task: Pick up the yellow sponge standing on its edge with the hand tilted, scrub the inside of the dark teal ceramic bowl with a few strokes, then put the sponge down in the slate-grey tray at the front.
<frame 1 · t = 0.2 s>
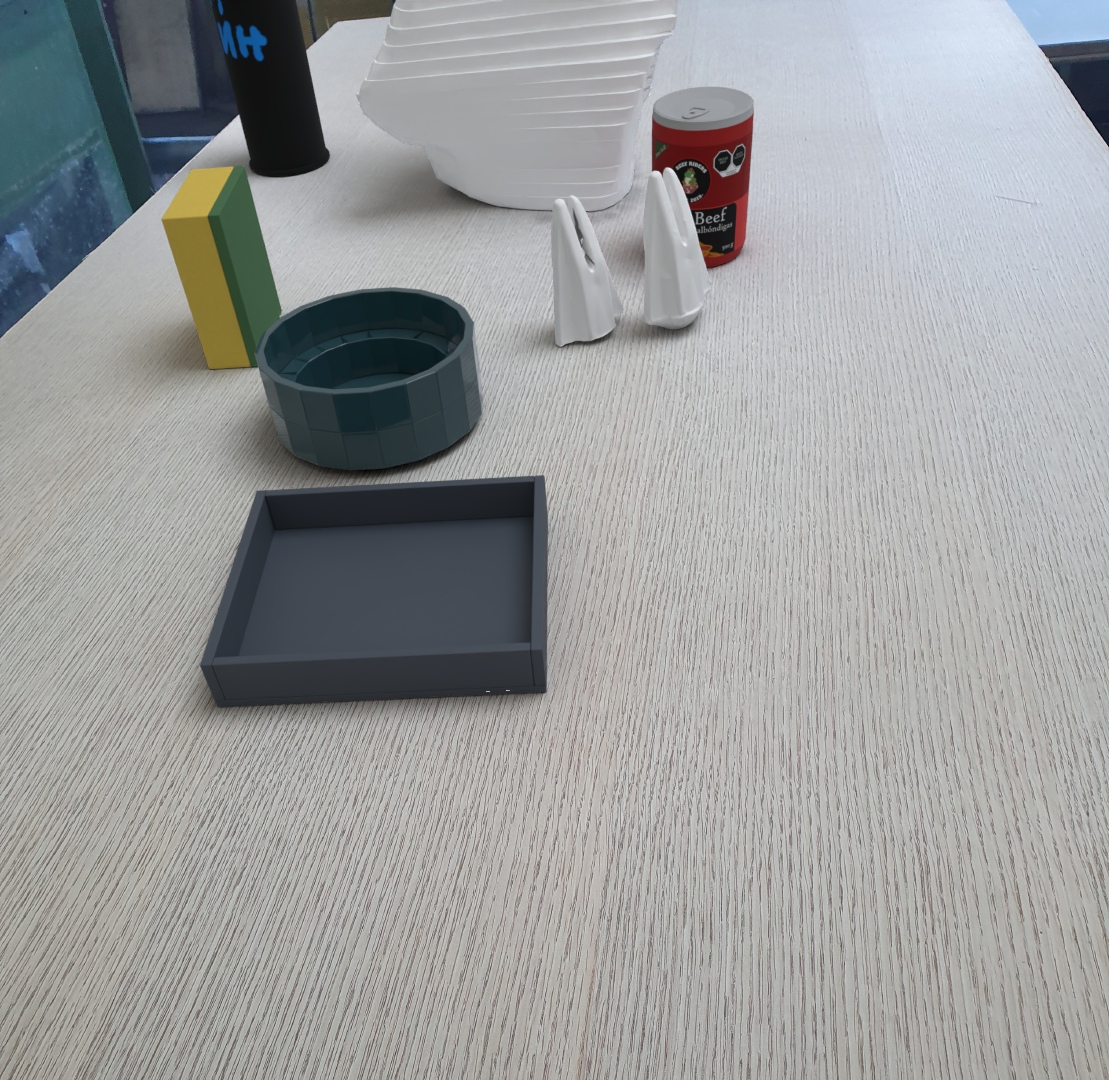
sponge: (246, 339, 84), on the table
tray: (395, 604, 61), on the table
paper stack: (533, 176, 104), on the table
aerosol can: (290, 163, 110), on the table
canned food: (698, 251, 90), on the table
bowl: (381, 419, 75), on the table
shaker set: (633, 330, 81), on the table
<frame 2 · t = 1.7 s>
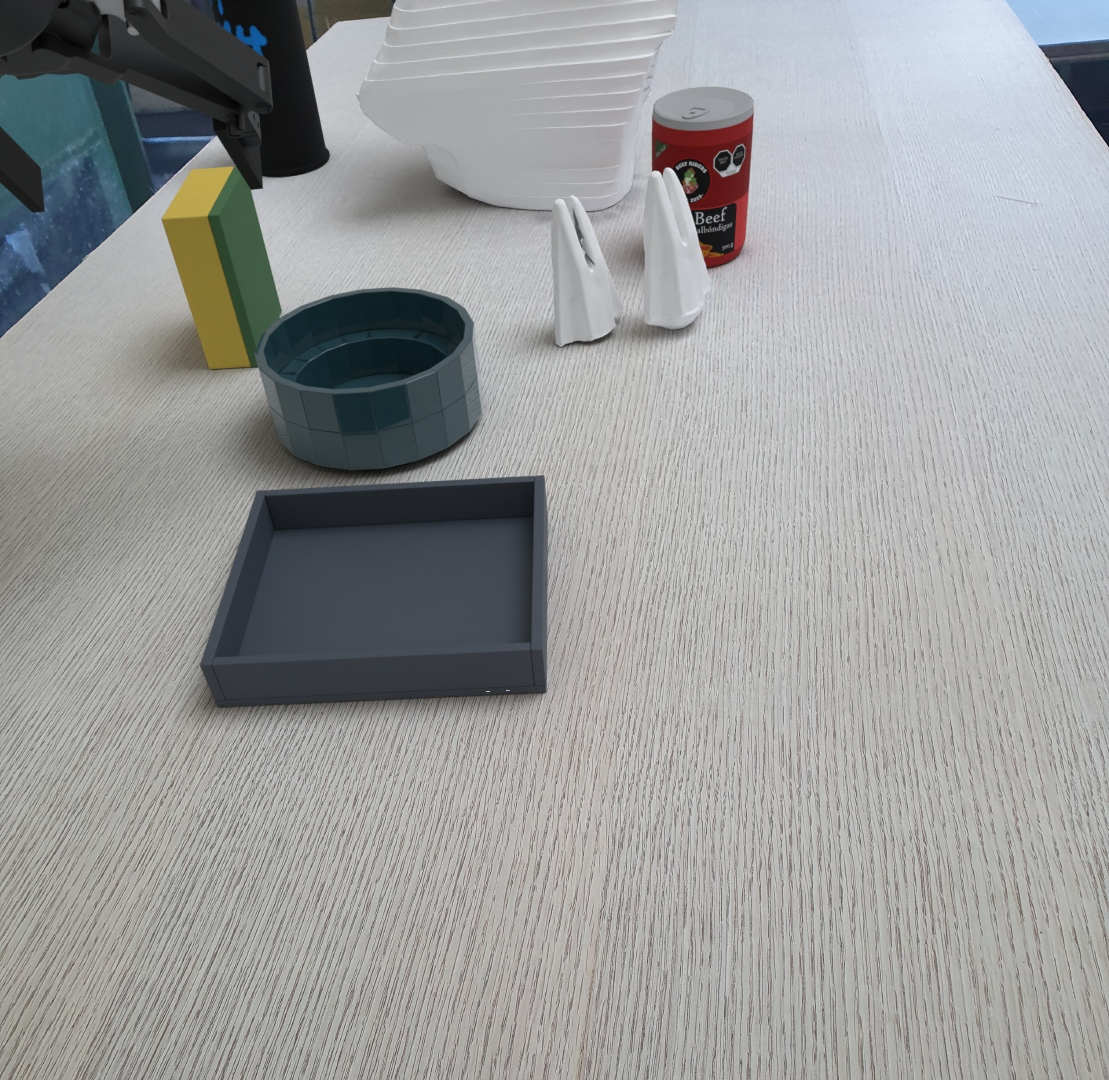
hand: (145, 179, 66), 15 cm above the table, tool tilted 45°, fingers open, 13 cm apart
nothing on the table moved.
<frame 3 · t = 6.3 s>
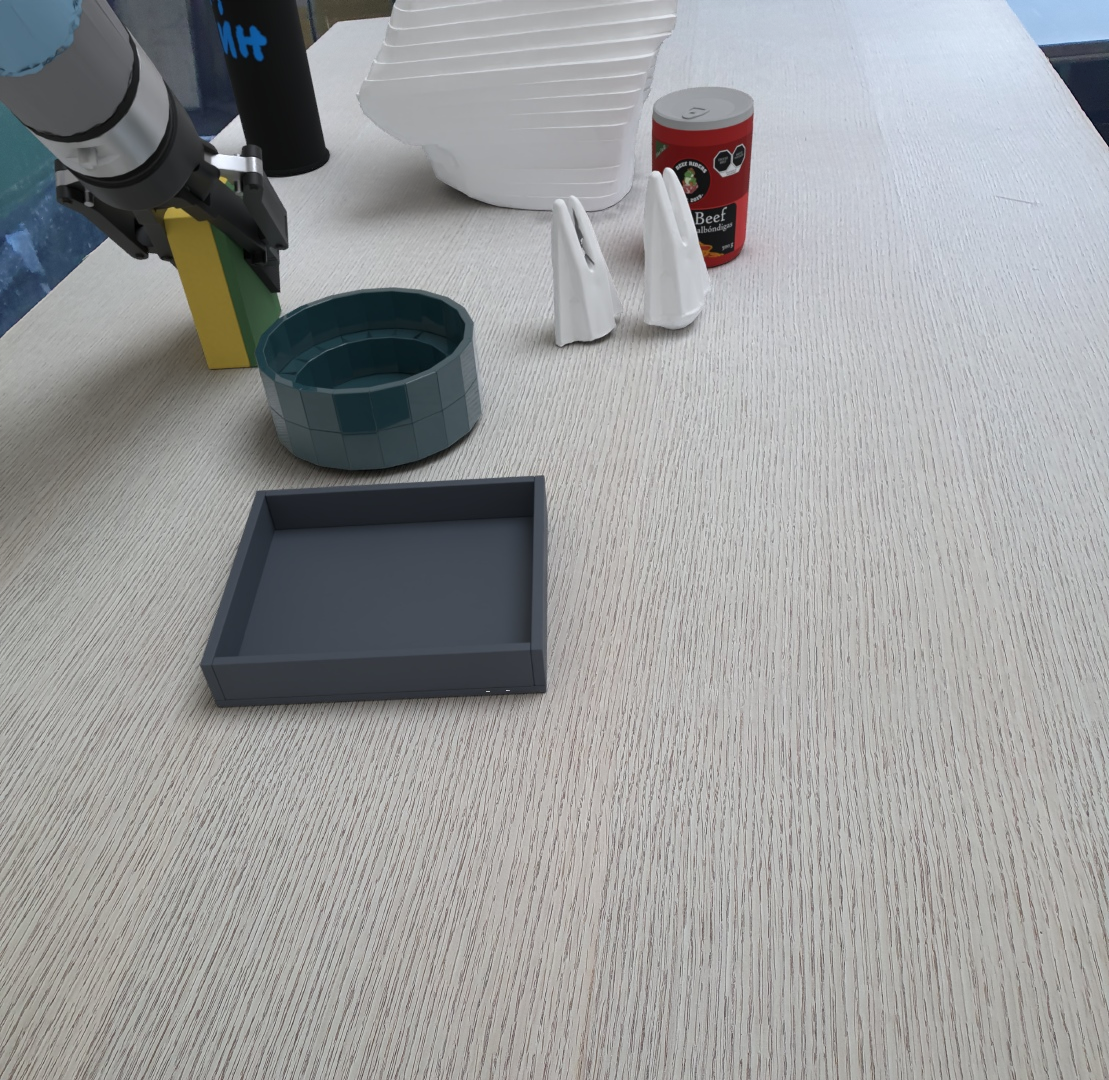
hand: (245, 276, 84), 3 cm above the table, tool tilted 45°, fingers closed on sponge, 4 cm apart
sponge: (246, 339, 84), on the table, touching gripper
everything else where it was.
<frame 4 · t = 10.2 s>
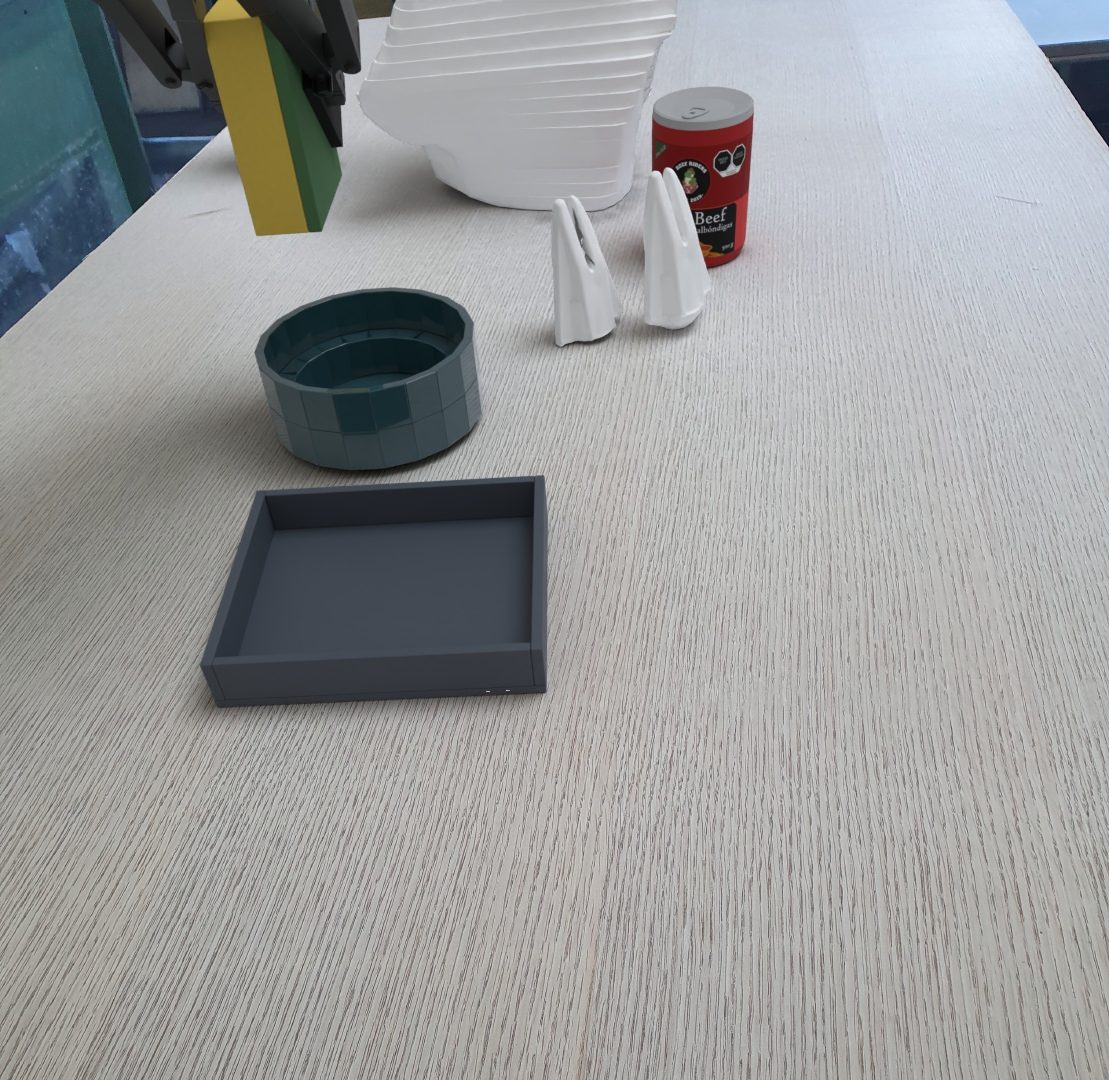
hand: (298, 127, 68), 16 cm above the table, tool tilted 45°, fingers closed on sponge, 4 cm apart
sponge: (301, 204, 67), point 13 cm above the table, touching gripper
everything else where it was.
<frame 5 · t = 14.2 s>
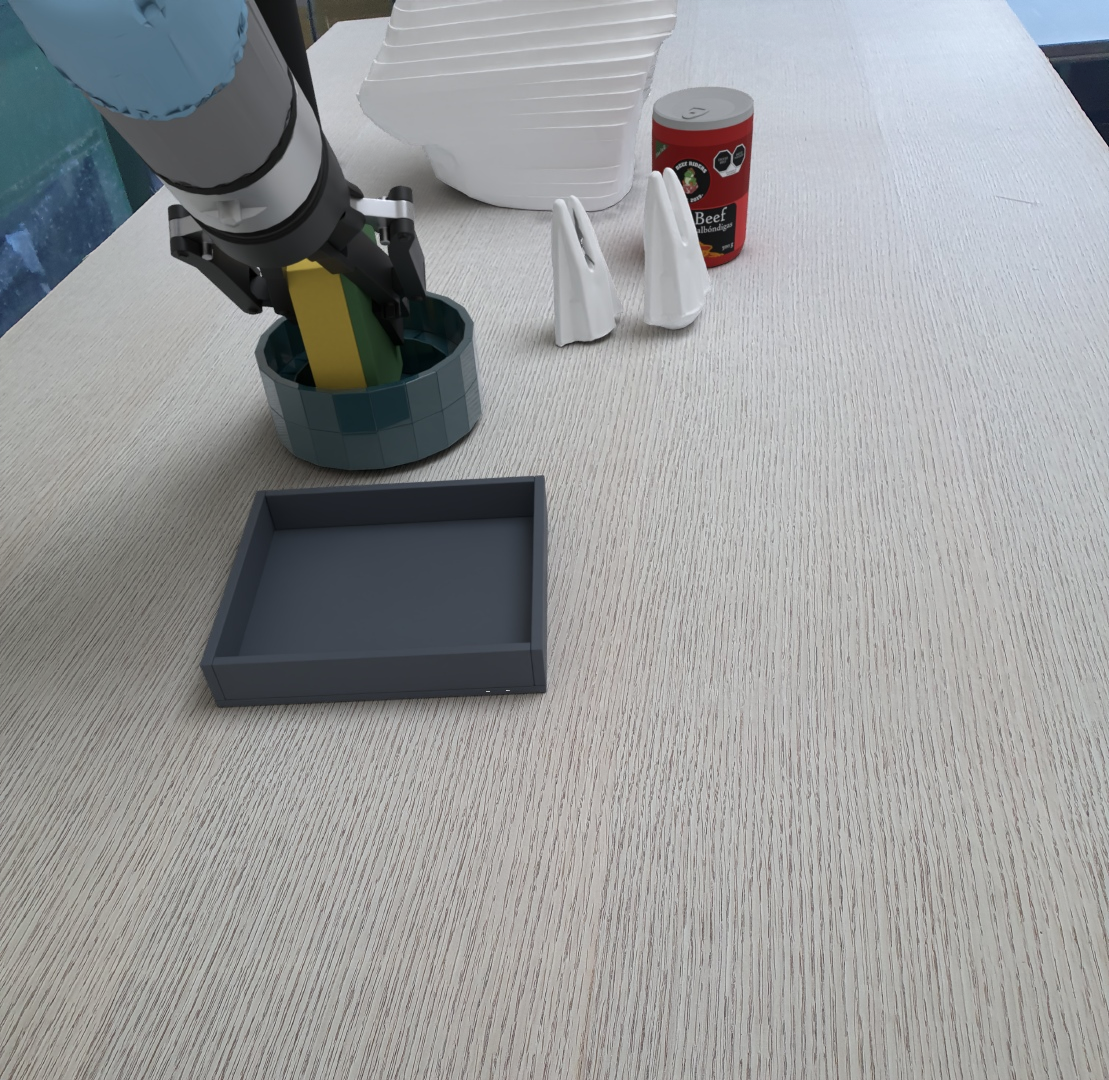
hand: (362, 327, 74), 5 cm above the table, tool tilted 45°, fingers closed on sponge, 4 cm apart
sponge: (368, 399, 74), point 2 cm above the table, touching bowl, gripper
everything else where it was.
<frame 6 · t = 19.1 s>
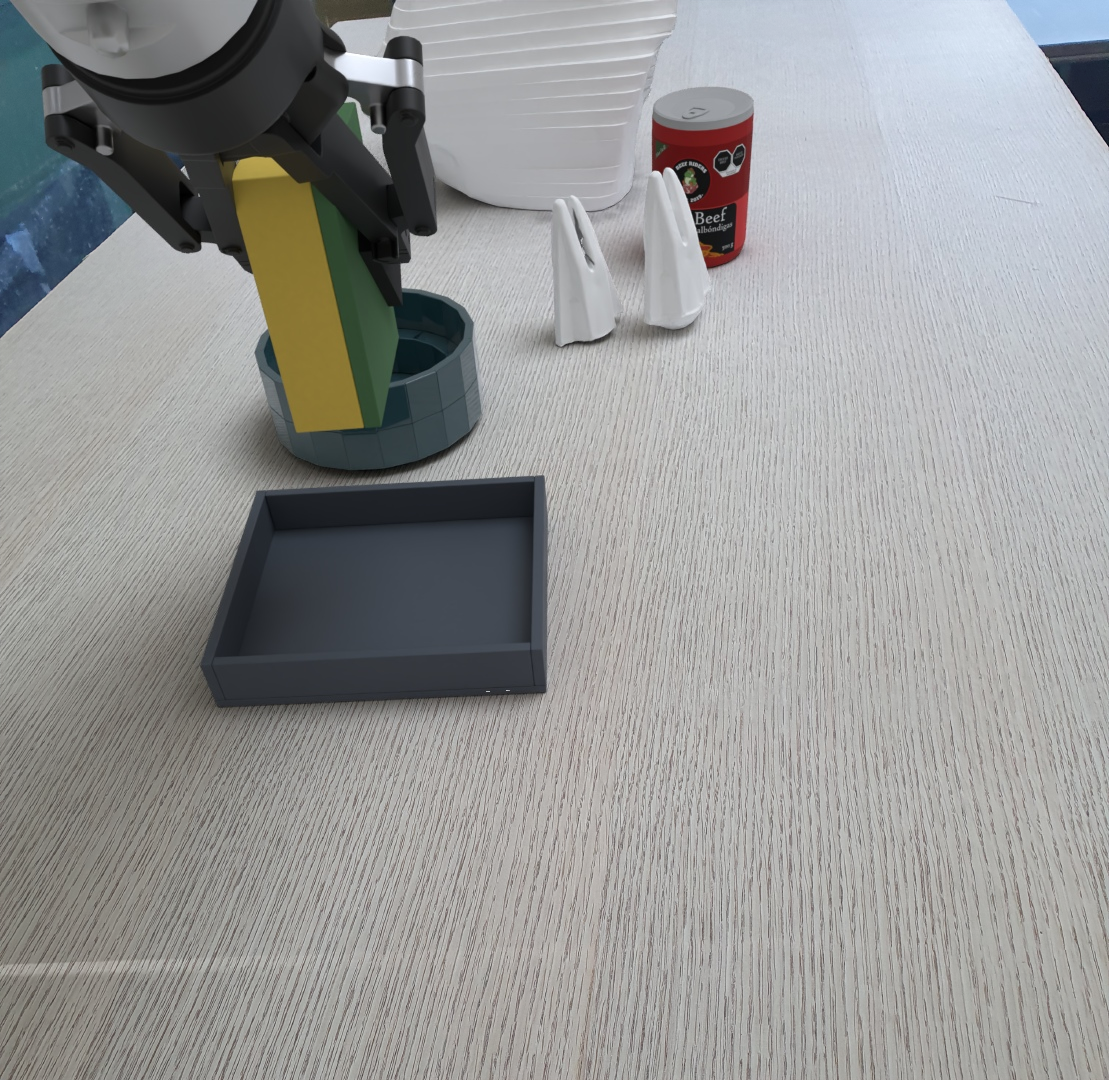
hand: (346, 281, 53), 16 cm above the table, tool tilted 45°, fingers closed on sponge, 4 cm apart
sponge: (350, 382, 53), point 13 cm above the table, touching gripper
everything else where it was.
when the fingers open (4 cm above the table, at t = 22.6 s): sponge stays where it is, resting on tray.
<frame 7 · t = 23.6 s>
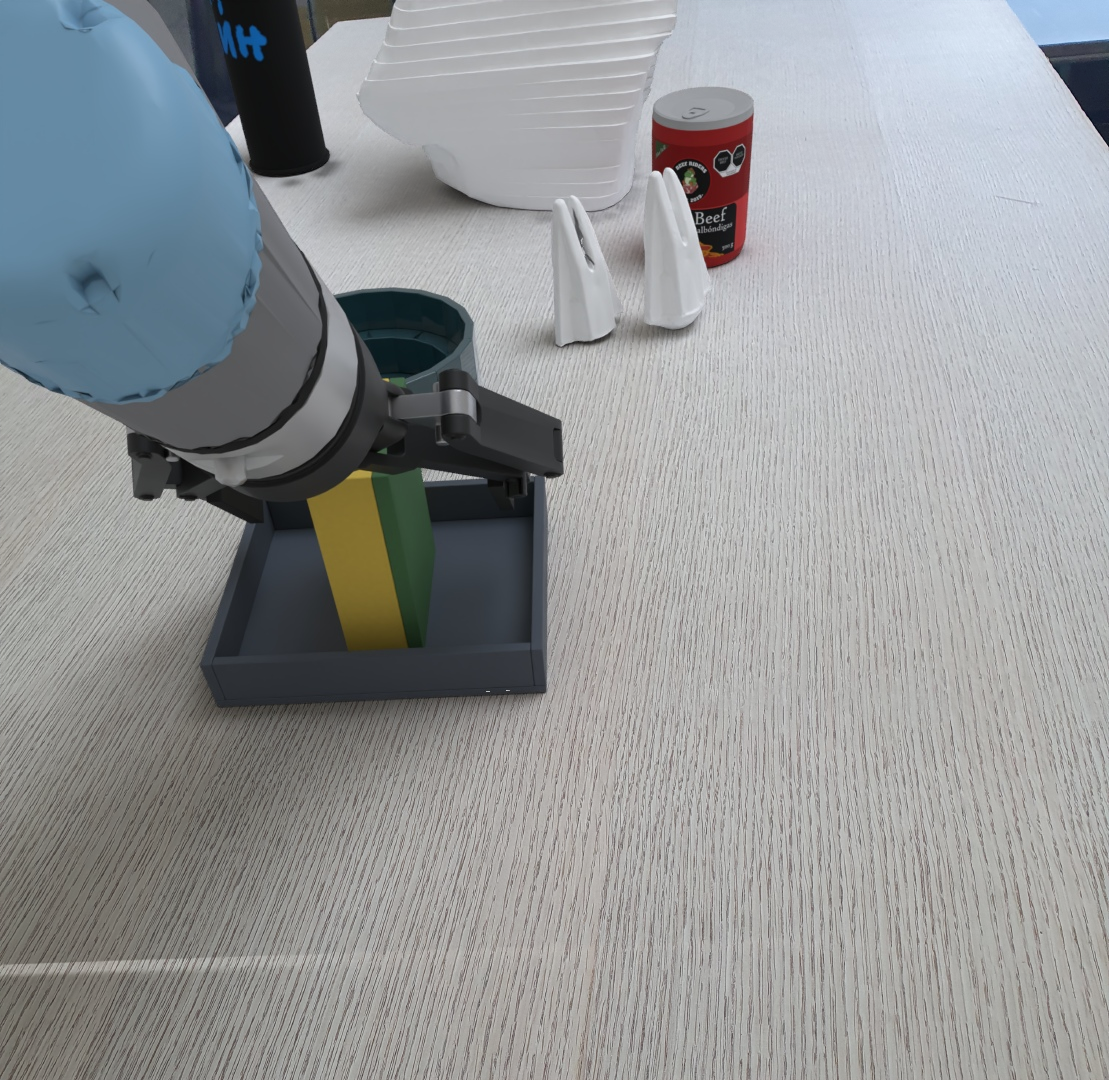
hand: (380, 491, 58), 6 cm above the table, tool tilted 45°, fingers open, 13 cm apart
sponge: (394, 601, 60), resting on tray
everything else where it was.
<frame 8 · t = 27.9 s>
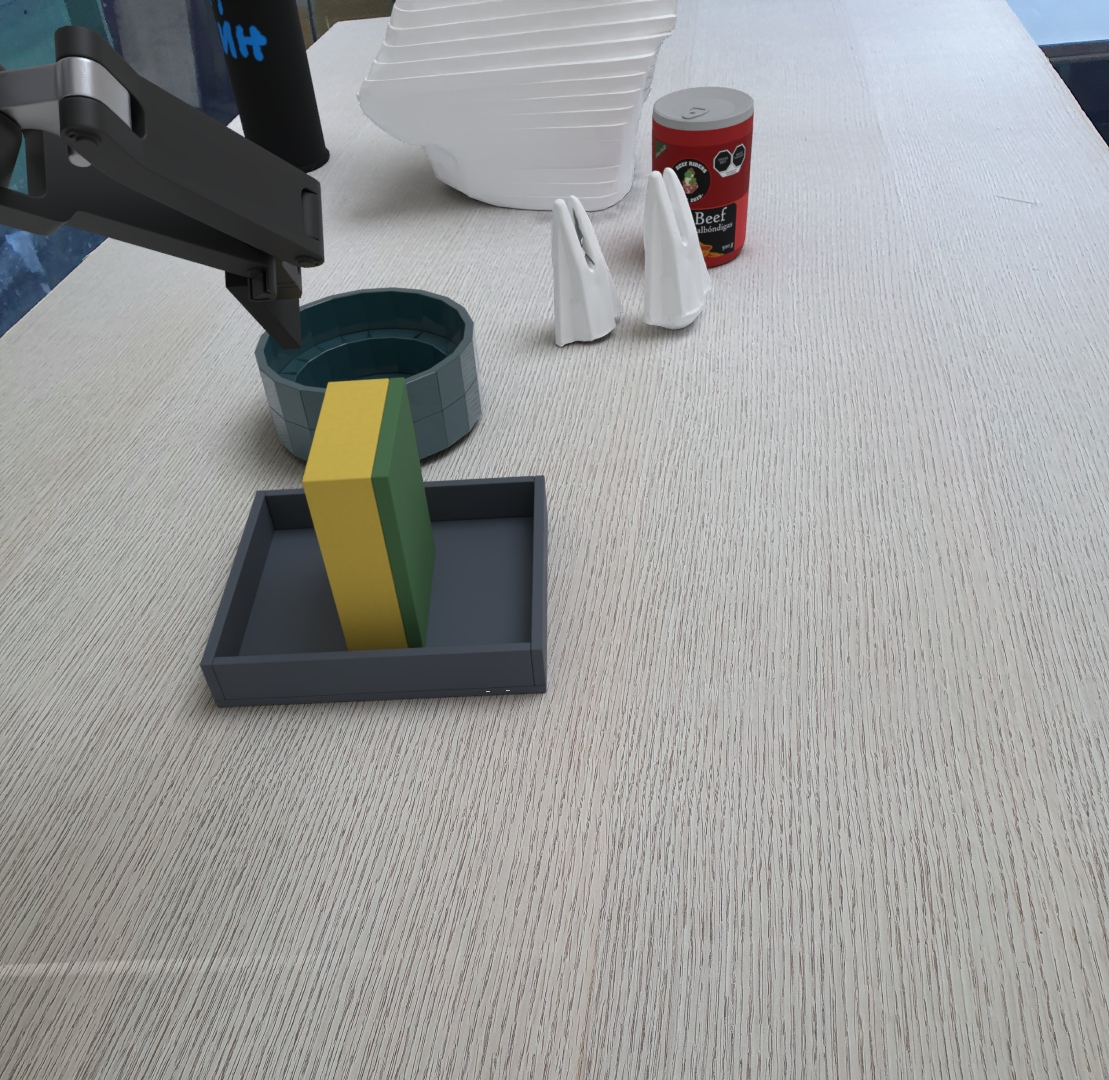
hand: (122, 325, 43), 20 cm above the table, tool tilted 45°, fingers open, 13 cm apart
nothing on the table moved.
at the end: sponge inside the target area in the tray (0.3 cm from its centre), point 0.5 cm above the tray's base; sponge moved 36.6 cm from its start; the gripper is holding nothing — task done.
